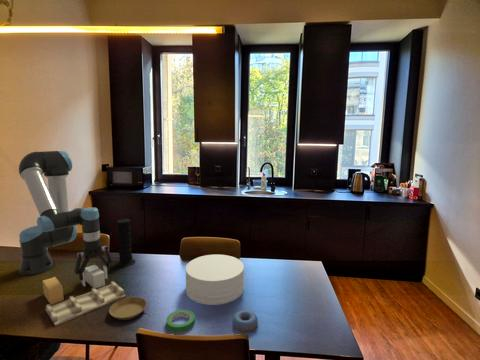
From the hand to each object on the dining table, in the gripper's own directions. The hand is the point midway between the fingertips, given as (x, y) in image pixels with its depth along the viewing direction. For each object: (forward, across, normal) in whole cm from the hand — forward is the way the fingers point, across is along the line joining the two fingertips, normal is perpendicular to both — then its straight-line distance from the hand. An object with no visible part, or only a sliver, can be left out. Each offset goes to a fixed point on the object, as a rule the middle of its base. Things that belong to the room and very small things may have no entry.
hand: (95, 281), depth 142 cm
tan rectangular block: (+1, -18, 0) cm, 18 cm away
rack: (+1, -9, -16) cm, 18 cm away
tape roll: (+1, +12, -57) cm, 58 cm away
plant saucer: (+1, +1, -35) cm, 35 cm away
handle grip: (+1, +21, +11) cm, 24 cm away
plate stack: (+1, +39, -47) cm, 61 cm away
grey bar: (+1, 0, 0) cm, 1 cm away
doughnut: (+1, +29, -76) cm, 81 cm away
